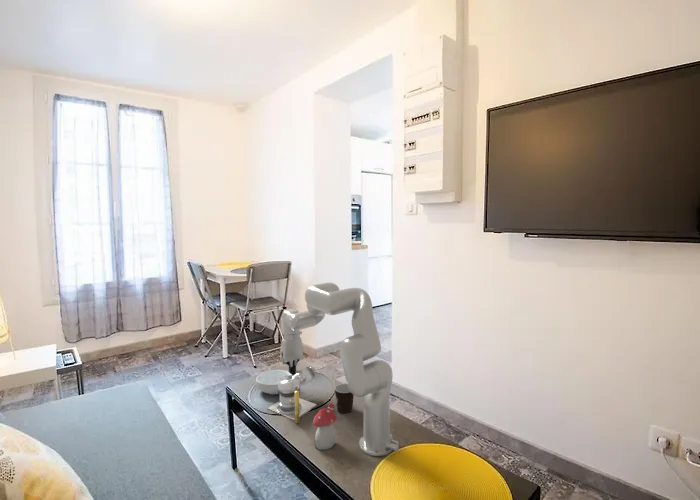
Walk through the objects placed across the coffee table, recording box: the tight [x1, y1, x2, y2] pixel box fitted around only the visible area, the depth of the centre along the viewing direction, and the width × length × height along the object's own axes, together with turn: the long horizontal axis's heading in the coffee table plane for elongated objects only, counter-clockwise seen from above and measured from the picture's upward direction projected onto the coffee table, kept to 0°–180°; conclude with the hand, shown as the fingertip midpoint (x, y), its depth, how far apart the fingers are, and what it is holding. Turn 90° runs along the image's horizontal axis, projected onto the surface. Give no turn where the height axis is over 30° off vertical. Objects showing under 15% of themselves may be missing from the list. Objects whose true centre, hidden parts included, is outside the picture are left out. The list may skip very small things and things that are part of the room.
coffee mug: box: [334, 382, 355, 415], centre depth 159 cm, size 12×9×10 cm
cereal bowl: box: [255, 369, 292, 395], centre depth 176 cm, size 17×17×7 cm
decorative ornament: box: [312, 402, 338, 451], centre depth 133 cm, size 9×6×15 cm
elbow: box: [277, 366, 317, 396], centre depth 162 cm, size 20×9×6 cm, turn 146°
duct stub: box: [267, 390, 318, 424], centre depth 158 cm, size 16×19×14 cm
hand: (292, 373), depth 172 cm, fingers closed
